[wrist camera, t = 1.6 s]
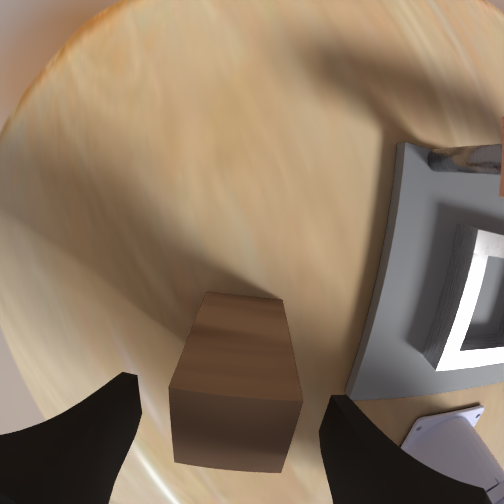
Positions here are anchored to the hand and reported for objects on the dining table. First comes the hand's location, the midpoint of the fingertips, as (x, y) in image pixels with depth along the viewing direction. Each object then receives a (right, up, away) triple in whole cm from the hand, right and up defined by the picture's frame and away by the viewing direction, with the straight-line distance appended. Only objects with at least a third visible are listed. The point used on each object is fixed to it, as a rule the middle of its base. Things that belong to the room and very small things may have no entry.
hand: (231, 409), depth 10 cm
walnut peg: (0, +2, +6) cm, 7 cm away
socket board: (+15, +3, +6) cm, 17 cm away
